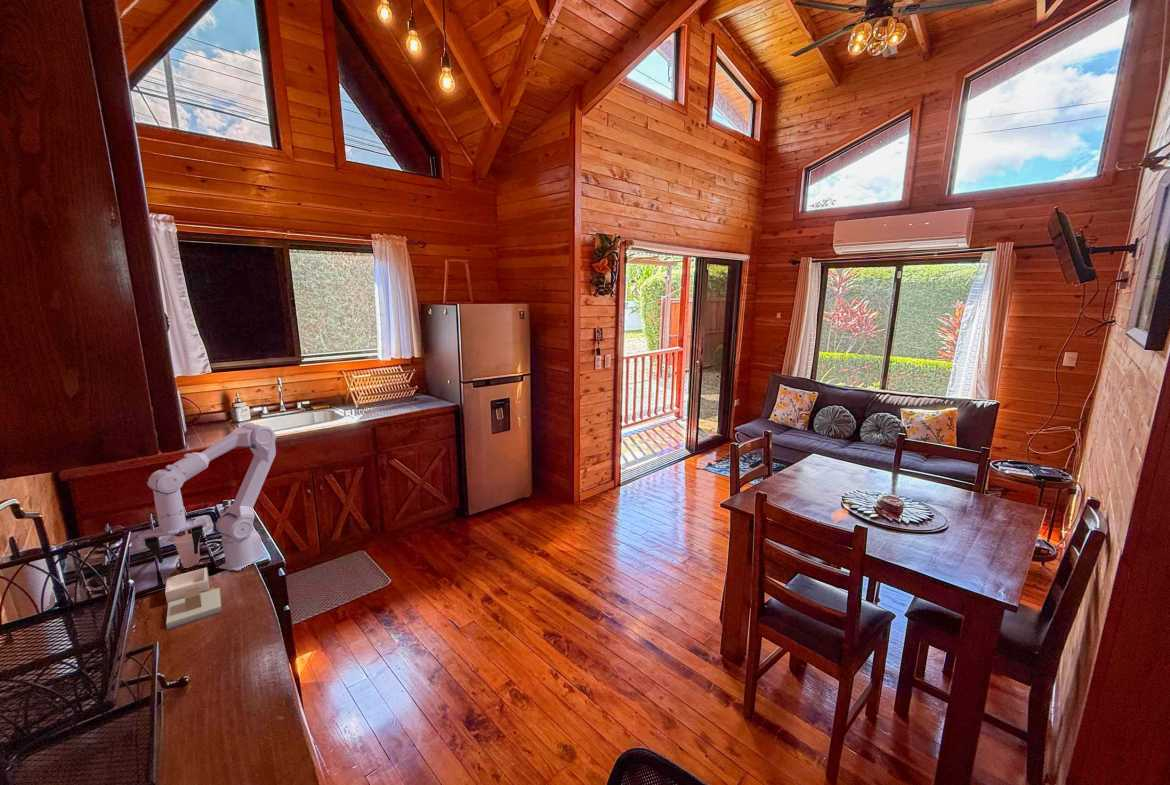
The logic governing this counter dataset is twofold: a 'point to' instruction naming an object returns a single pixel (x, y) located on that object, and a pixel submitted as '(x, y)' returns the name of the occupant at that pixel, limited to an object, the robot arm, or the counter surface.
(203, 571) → the dish
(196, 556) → the smoothie
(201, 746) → the counter surface
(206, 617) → the mat
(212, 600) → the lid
